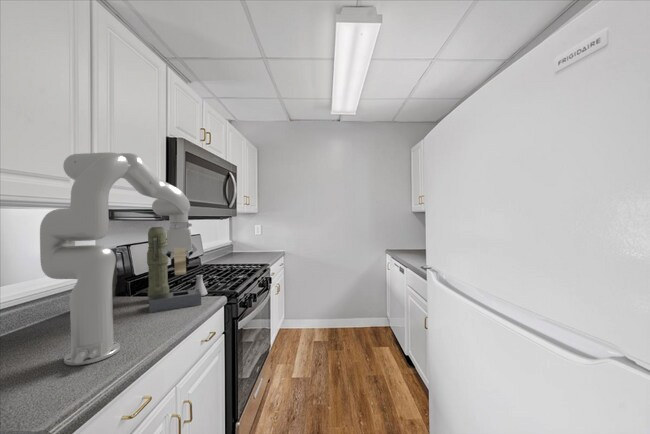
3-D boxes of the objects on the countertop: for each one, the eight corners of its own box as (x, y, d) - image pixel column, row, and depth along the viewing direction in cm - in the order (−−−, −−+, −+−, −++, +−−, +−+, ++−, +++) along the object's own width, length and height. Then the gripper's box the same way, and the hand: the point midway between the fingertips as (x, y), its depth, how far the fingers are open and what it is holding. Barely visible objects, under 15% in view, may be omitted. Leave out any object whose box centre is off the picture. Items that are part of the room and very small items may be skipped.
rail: (201, 304, 129) (201, 293, 129) (149, 312, 120) (148, 300, 120) (199, 299, 138) (198, 288, 138) (150, 306, 128) (150, 295, 128)
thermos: (169, 295, 146) (168, 226, 146) (168, 301, 135) (166, 227, 135) (149, 298, 142) (147, 227, 142) (146, 304, 131) (144, 227, 131)
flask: (210, 293, 149) (209, 274, 149) (202, 297, 141) (202, 277, 141) (197, 293, 149) (196, 274, 149) (188, 297, 142) (188, 276, 142)
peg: (186, 274, 129) (185, 247, 129) (174, 275, 127) (174, 248, 127) (185, 272, 133) (184, 246, 133) (174, 273, 131) (173, 247, 131)
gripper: (198, 225, 137) (199, 263, 137) (157, 227, 129) (158, 267, 129) (200, 225, 130) (201, 266, 131) (157, 227, 122) (158, 270, 123)
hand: (180, 266), depth 130 cm, fingers closed on peg, 4 cm apart
